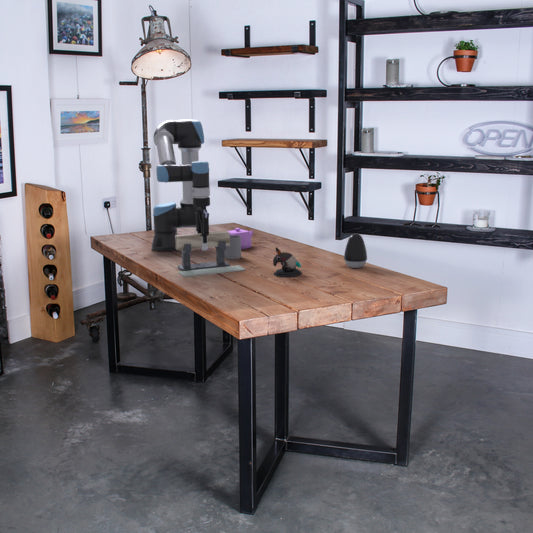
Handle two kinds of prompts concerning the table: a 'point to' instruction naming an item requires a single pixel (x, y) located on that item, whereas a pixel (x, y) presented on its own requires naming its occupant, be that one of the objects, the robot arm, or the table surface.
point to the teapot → (243, 237)
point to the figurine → (286, 264)
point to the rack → (188, 266)
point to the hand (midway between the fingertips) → (203, 248)
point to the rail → (196, 239)
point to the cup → (233, 248)
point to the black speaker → (355, 252)
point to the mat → (211, 271)
